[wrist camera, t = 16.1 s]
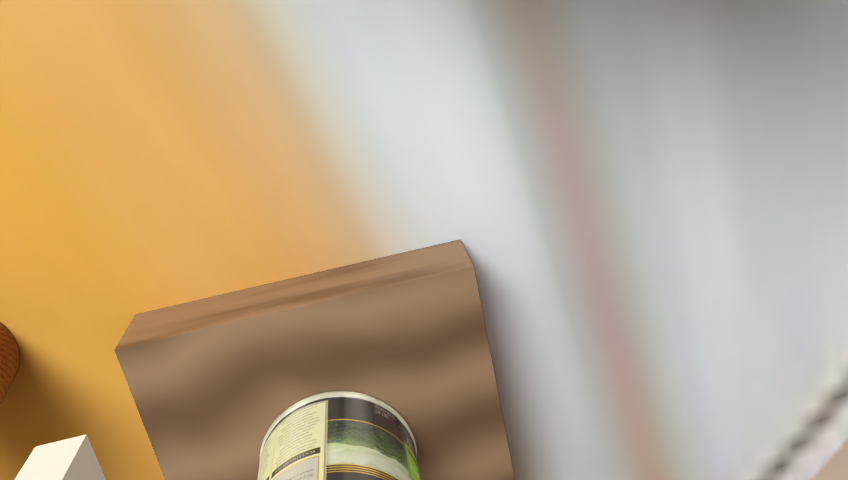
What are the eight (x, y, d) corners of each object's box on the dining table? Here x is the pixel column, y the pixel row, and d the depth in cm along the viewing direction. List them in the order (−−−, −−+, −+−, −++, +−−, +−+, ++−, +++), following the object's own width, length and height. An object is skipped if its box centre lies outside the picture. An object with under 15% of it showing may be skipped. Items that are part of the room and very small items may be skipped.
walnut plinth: (135, 314, 49) (114, 350, 44) (460, 239, 50) (473, 266, 45) (231, 570, 57) (222, 623, 52) (512, 501, 57) (527, 547, 53)
